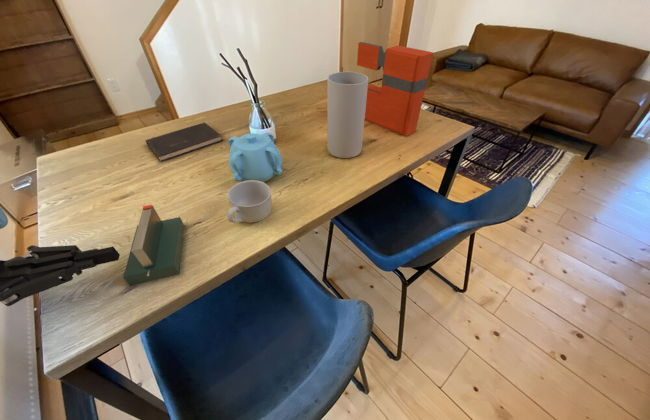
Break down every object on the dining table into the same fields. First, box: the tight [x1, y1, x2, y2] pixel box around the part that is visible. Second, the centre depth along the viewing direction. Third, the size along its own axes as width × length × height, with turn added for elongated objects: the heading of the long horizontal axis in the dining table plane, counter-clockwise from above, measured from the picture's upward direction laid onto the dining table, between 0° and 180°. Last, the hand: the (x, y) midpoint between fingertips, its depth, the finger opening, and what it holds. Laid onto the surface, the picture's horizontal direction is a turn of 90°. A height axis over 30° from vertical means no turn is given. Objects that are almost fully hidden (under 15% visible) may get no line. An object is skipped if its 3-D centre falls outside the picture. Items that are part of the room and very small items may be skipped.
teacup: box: [226, 180, 273, 224], centre depth 72 cm, size 14×11×8 cm
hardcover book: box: [144, 122, 223, 163], centre depth 105 cm, size 16×23×2 cm
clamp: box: [356, 41, 434, 137], centre depth 110 cm, size 9×35×28 cm, turn 44°
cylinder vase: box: [326, 71, 369, 159], centre depth 92 cm, size 12×12×25 cm
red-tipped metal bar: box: [130, 204, 163, 269], centre depth 62 cm, size 14×2×6 cm, turn 17°
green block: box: [117, 216, 197, 286], centre depth 65 cm, size 18×18×3 cm
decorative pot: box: [228, 132, 283, 183], centre depth 86 cm, size 16×16×14 cm
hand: (115, 253), depth 56 cm, fingers closed
